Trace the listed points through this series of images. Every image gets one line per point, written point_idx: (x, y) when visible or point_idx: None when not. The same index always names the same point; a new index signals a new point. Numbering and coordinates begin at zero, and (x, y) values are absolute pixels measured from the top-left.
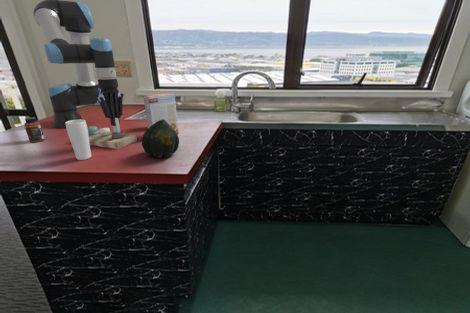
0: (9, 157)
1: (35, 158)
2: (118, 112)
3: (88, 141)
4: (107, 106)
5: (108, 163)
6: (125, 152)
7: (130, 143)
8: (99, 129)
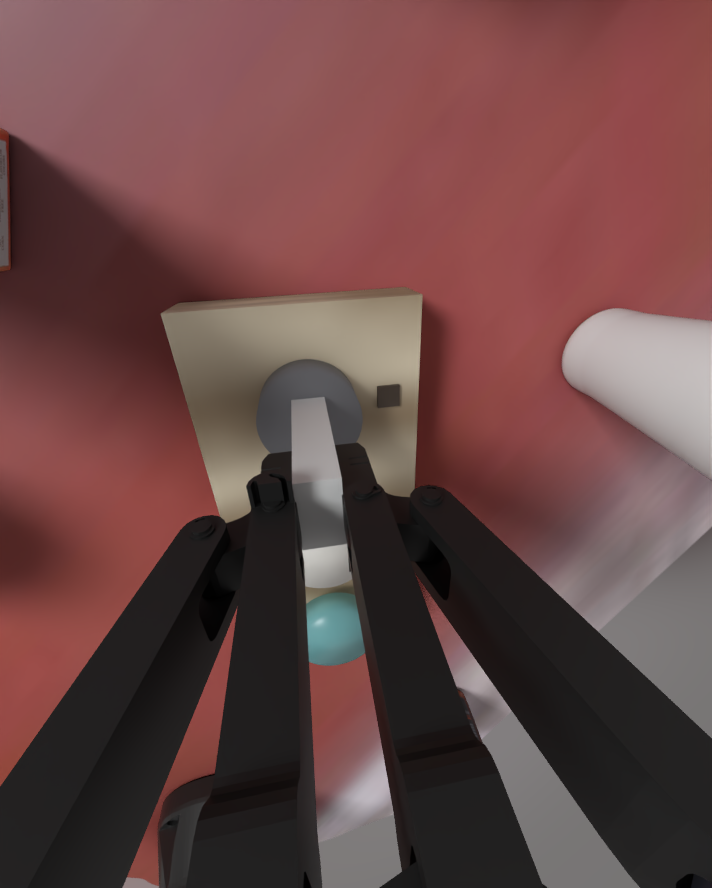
0: (609, 609)
1: (614, 537)
2: (256, 550)
3: (693, 333)
4: (555, 655)
5: (686, 66)
6: (447, 144)
7: (261, 297)
8: (346, 572)
